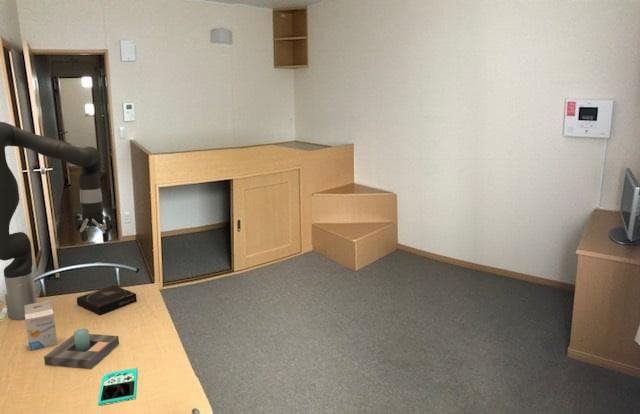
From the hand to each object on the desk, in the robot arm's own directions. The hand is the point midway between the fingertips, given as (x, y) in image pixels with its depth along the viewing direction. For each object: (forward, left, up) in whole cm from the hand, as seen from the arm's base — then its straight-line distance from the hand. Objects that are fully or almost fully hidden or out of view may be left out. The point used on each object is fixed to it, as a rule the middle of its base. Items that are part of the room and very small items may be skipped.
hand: (95, 241), depth 184 cm
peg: (+12, -30, -30) cm, 44 cm away
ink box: (-6, -26, -30) cm, 40 cm away
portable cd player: (-4, +9, -31) cm, 32 cm away
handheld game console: (+34, -46, -31) cm, 65 cm away
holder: (+12, -30, -30) cm, 44 cm away
